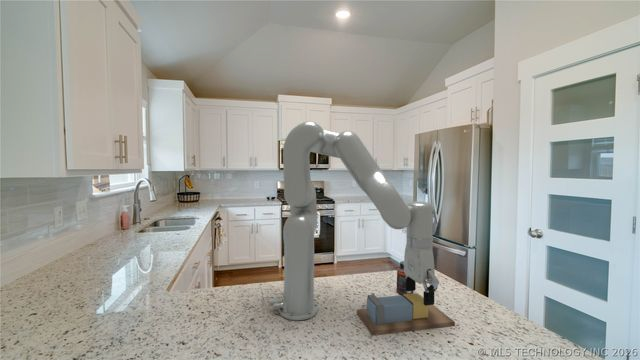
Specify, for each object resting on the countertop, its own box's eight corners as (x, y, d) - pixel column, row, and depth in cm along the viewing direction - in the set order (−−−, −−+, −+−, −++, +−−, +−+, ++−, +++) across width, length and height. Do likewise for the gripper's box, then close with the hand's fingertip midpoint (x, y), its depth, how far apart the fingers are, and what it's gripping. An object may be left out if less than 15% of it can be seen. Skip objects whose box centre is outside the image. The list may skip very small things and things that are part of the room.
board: (372, 335, 74) (372, 331, 74) (356, 313, 86) (357, 309, 86) (454, 325, 80) (454, 321, 79) (429, 306, 91) (429, 302, 91)
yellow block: (413, 319, 80) (413, 303, 80) (402, 309, 86) (403, 294, 86) (428, 317, 81) (428, 301, 81) (417, 307, 87) (417, 293, 87)
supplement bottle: (414, 297, 98) (415, 266, 98) (397, 295, 99) (397, 264, 99) (411, 290, 104) (412, 260, 103) (395, 288, 105) (396, 259, 105)
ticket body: (375, 325, 76) (376, 306, 76) (365, 312, 84) (365, 294, 84) (413, 321, 79) (414, 302, 79) (400, 308, 86) (401, 291, 86)
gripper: (394, 236, 91) (394, 287, 91) (425, 250, 74) (425, 312, 74) (414, 235, 92) (414, 285, 93) (449, 248, 75) (449, 309, 76)
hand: (419, 297), depth 83 cm, fingers open, 9 cm apart
